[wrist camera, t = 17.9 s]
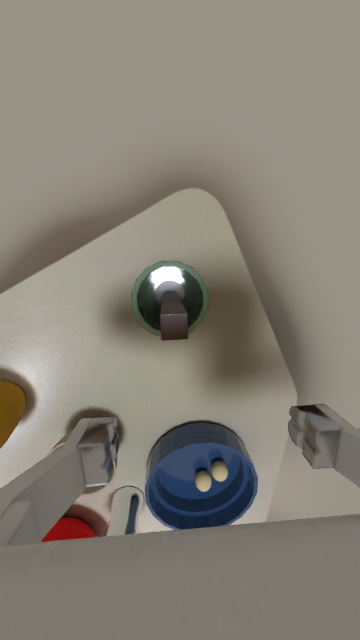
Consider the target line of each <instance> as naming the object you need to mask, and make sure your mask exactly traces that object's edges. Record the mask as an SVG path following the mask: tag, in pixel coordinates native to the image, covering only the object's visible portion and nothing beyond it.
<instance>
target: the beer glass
mask: <svg viewBox="0 0 360 640" xmlns="http://www.w3.org/2000/svg"><path fill="white" fill-rule="evenodd" d="M143 502H144V496H143V494H142V492H141V491H140V490H139V489H137V488H135V487H123V488H121V489H119V490H117V491H116V492H115V494H114V496H113V499H112V508H111V516H110V520H109V523H108V526H107V529H106V532H105V535H104V536H115V535H126V534H138V533H139V519H140V513H141V510H142V506H143Z"/></svg>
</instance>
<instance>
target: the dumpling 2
mask: <svg viewBox="0 0 360 640" xmlns="http://www.w3.org/2000/svg"><path fill="white" fill-rule="evenodd" d="M211 472H212V475H213V477H214V478H215V479H216V480H217V481H224V480H225V479H226V478H227V476H228V469H227V466H226V465H225V464H224V463H223V462H221V461H216V462H214V463H213V465H212V468H211Z"/></svg>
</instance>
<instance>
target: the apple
mask: <svg viewBox="0 0 360 640" xmlns="http://www.w3.org/2000/svg"><path fill="white" fill-rule="evenodd" d="M25 404H26V399H25V394H24V393H23V391H22V389H21V388H20V387H18V386H17V385H15V384H14V383H11V382H7V381H2V380H0V448H1V447H2V446H3V445H4V444H5V442H6V441H7V440H8V438H9V437H10V435H11V434H12V432H13V431H14V429H15V428H16V426H17V425H18V423H19V421H20V418H21V416H22V414H23V412H24V408H25Z"/></svg>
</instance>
